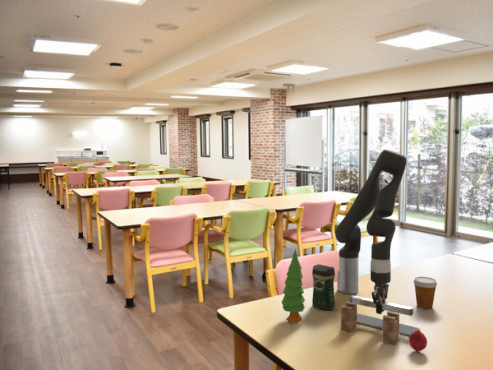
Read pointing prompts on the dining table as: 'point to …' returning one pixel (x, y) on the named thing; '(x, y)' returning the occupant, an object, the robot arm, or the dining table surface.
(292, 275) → the decorative tree
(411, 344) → the onion
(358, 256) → the robot arm
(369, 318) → the mat
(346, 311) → the post
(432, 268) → the dining table surface
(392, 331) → the post
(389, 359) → the dining table surface
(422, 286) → the disposable coffee cup
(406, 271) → the dining table surface
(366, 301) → the rail
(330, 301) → the coffee jar
